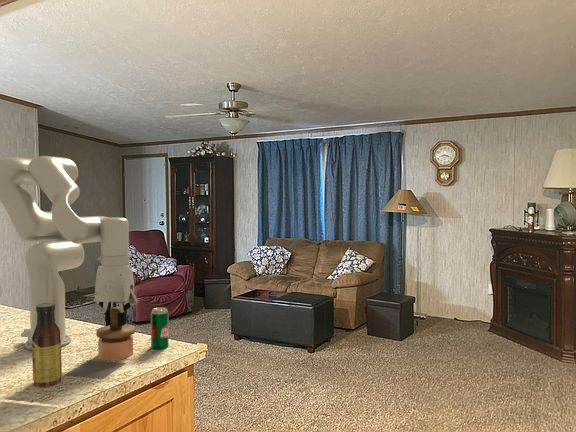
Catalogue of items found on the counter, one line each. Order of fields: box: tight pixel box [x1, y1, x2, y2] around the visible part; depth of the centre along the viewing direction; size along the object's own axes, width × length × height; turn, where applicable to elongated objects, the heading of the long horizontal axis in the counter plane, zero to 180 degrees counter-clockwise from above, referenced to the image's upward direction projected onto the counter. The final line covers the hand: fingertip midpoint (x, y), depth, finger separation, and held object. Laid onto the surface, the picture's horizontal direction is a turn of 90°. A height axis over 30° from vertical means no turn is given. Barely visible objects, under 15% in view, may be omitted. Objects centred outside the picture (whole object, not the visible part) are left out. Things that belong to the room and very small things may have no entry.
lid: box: [95, 306, 136, 339], centre depth 133 cm, size 10×10×7 cm
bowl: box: [97, 334, 134, 361], centre depth 133 cm, size 9×9×5 cm
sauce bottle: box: [31, 303, 63, 388], centre depth 113 cm, size 7×6×20 cm
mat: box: [63, 359, 127, 380], centre depth 122 cm, size 11×11×1 cm
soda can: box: [150, 307, 170, 351], centre depth 140 cm, size 5×5×12 cm
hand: (115, 324), depth 133 cm, fingers closed on lid, 3 cm apart
